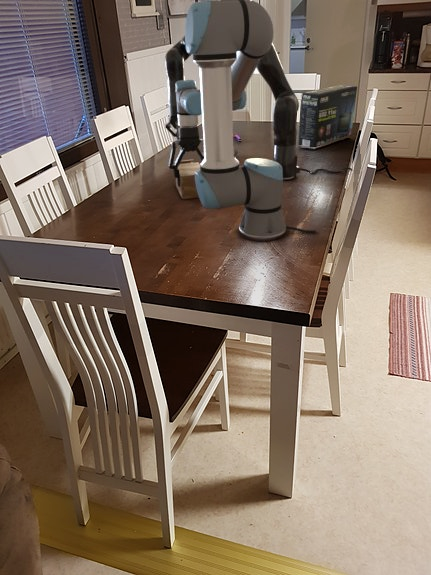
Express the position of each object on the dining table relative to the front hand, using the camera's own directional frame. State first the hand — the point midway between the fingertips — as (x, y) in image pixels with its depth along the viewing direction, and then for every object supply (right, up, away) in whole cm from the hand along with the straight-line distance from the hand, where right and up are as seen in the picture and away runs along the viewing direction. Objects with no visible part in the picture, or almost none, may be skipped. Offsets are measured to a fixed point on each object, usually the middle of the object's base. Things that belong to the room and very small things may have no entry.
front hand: (192, 184), depth 181 cm
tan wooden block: (-1, -2, +5) cm, 5 cm away
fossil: (+11, +22, +44) cm, 50 cm away
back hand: (-6, +19, +14) cm, 25 cm away
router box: (+68, +36, +63) cm, 99 cm away
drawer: (-3, +5, +14) cm, 15 cm away
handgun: (+19, +44, +79) cm, 93 cm away
